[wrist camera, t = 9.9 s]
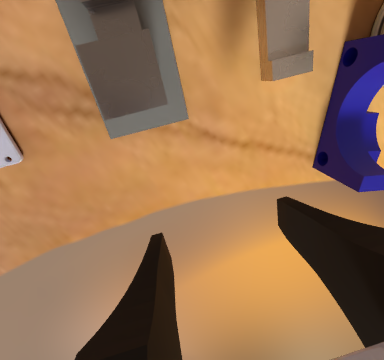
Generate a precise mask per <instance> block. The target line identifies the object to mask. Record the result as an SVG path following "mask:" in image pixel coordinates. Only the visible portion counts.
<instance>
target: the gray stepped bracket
mask: <svg viewBox="0 0 384 360" xmlns="http://www.w3.org/2000/svg"><path fill="white" fill-rule="evenodd" d="M80 2H81V3H82V4H83V5H84V6H85V8H86V9H87V10H88V12H89V15H90V18H91V20H92V23H93V26H94V29H95V32H96V35H97V38H98V40H97V41H93V42H88V43H84V44H80V45H75V46H76V49H77V51H78V54H79V56H80V59H81V61H82V64H83V66H84V69H85V71H86V74H87V77H88V79H89V82H90V84H91V87H92V89H93V92H94V94H95V97H96V99H97V102H98V104H99V107H100V109H101V112H102V114H103V117H104V119H105V120H109V119H113V118H117V117H121V116H124V115H128V114H132V113H136V112H140V111H144V110H148V109H152V108H156V107H160V106H164V105H168V101H167V97H166V93H165V89H164V86H163V82H162V78H161V74H160V70H159V66H158V62H157V58H156V54H155V51H154V47H153V43H152V39H151V35H150V31H149V28H148V29H144V30H142V29H141V25H140V22H139V18H138V14H137V10H136V7H135V3H134V0H80Z"/></svg>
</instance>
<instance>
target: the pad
mask: <svg viewBox="0 0 384 360" xmlns="http://www.w3.org/2000/svg"><path fill="white" fill-rule="evenodd" d="M56 3H57V5H58V8H59V10H60V13H61V15H62V18H63V20H64V23H65V25H66V28H67V30H68V33H69V36H70V38H71V41H72V43H73V46H74V48H75V51H76V53H77V56H78V58H79V61H80V63H81V66H82V68H83V71H84V73H85V76H86V78H87V81H88V83H89V86H90V88H91V91H92V93H93V96H94V98H95V101H96V103H97V106H98V108H99V111H100V113H101V116H102V118H103V121H104V123H105V126H106V128H107V131H108V133H109V136H110V138H111V139H113V138H117V137H121V136H125V135H129V134H132V133H136V132H140V131H144V130H148V129H152V128H155V127H159V126H163V125H167V124H171V123H175V122H178V121H182V120H186V119H189V118H188V114H187V109H186V105H185V100H184V96H183V91H182V87H181V82H180V78H179V73H178V69H177V64H176V60H175V55H174V51H173V46H172V42H171V37H170V33H169V28H168V24H167V19H166V15H165V10H164V6H163V1H162V0H134V3H135V7H136V10H137V14H138V18H139V22H140V25H141V29H142V30H144V29H148V28H149V31H150V35H151V39H152V43H153V47H154V51H155V54H156V58H157V62H158V66H159V70H160V74H161V78H162V82H163V86H164V89H165V93H166V97H167V101H168V105H164V106H160V107H156V108H152V109H148V110H144V111H140V112H136V113H132V114H128V115H124V116H121V117H117V118H113V119H109V120H105V119H104V117H103V114H102V112H101V109H100V107H99V104H98V102H97V99H96V97H95V94H94V92H93V89H92V87H91V84H90V82H89V79H88V77H87V74H86V71H85V69H84V66H83V64H82V61H81V59H80V56H79V54H78V51H77V49H76V46H75V45H80V44H84V43H88V42H93V41H97V40H98V38H97V35H96V32H95V29H94V26H93V23H92V20H91V18H90V15H89V12H88V10H87V9H86V8H85V6H84V5H83V4H82V3H81V2H80V0H56Z"/></svg>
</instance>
